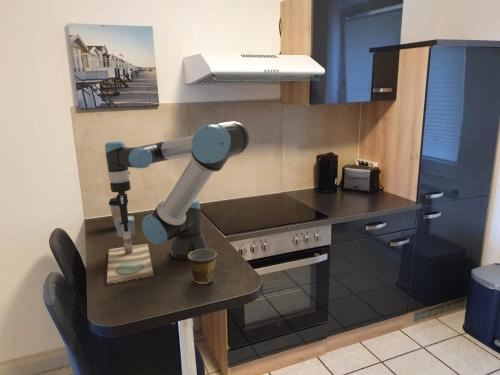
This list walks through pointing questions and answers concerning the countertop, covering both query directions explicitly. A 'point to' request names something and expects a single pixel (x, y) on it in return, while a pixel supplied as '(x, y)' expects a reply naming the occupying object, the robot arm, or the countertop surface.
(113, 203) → the coffee cup
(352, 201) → the countertop surface
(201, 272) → the ceramic cup
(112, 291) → the countertop surface
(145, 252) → the bayonet board
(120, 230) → the cap
